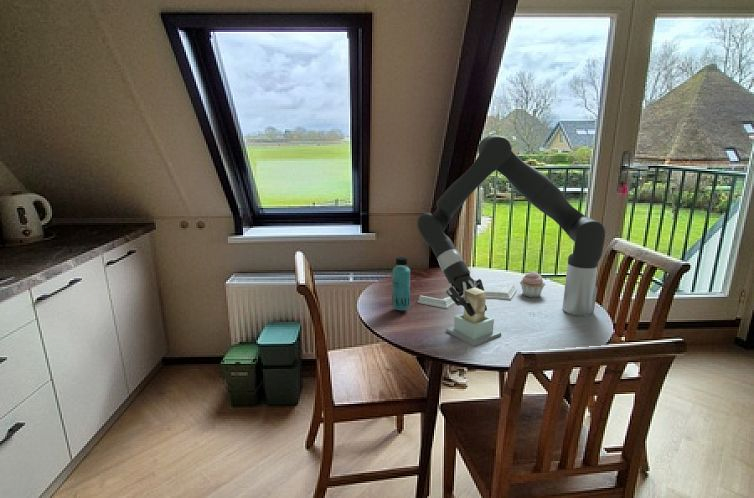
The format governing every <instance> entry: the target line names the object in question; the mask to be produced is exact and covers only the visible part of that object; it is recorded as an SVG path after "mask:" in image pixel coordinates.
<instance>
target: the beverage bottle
mask: <svg viewBox="0 0 754 498" xmlns="http://www.w3.org/2000/svg"><path fill="white" fill-rule="evenodd" d="M408 264H409V263H408V258H407V257H406V256H397V257H396V258H395V265H396V266H394V268H392V279H391V280H392V282H391V284H392V294H391V300H392V301H391V303H392V308H393V309H394V310H398V311H406V310H409V308H410V307H411V269H410V268H409V267H408V266H407V265H408Z"/></svg>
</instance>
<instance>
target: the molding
mask: <svg viewBox="0 0 754 498" xmlns="http://www.w3.org/2000/svg"><path fill="white" fill-rule="evenodd" d="M485 291H486V299H492V300H503V301H504V300H506V301H511V300H512V299H513V298H514V296H515V295H516V294H517V291H518V288H516V286H515V285H514V284H513V283H511V284H510V285H509V286H503V287H502V288H501V289H500V291H495V290H494V291H493V290H492V291H491V290H490V291H489V290H485ZM456 299H457V298H456ZM457 300H458V299H457ZM458 301H459V300H458ZM417 303H418V304H421V305H426V306H431V307H432V306H433V307H437V308H441V309H449V308H450V307H452V306H454V305H456V303H455V302H454V301H453V300H452V299H451V297H450V296H449V295H448V296H447V297H445V298H442V299H441V298H437V297H436V298H435V297H432V296H425V295H419V298H418V300H417Z"/></svg>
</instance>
